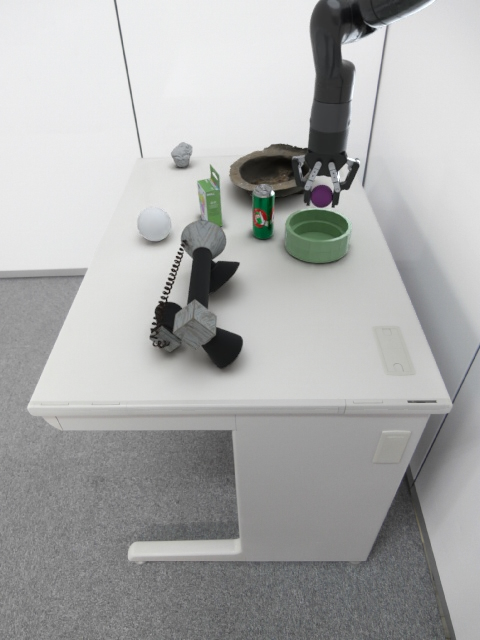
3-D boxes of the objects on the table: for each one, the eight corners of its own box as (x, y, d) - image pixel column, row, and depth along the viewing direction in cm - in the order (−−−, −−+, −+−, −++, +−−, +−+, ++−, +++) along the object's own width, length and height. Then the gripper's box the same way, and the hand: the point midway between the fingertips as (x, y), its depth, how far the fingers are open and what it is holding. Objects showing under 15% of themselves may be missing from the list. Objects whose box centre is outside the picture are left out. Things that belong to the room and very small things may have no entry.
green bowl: (348, 232, 106) (352, 210, 102) (346, 268, 96) (351, 244, 92) (288, 227, 109) (289, 205, 105) (280, 261, 98) (281, 238, 94)
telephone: (196, 290, 100) (185, 393, 78) (153, 255, 94) (127, 357, 71) (245, 251, 93) (249, 352, 71) (203, 211, 87) (192, 307, 65)
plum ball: (332, 202, 97) (335, 181, 93) (331, 212, 93) (333, 191, 90) (310, 200, 97) (312, 179, 94) (308, 211, 94) (310, 190, 91)
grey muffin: (197, 167, 136) (195, 144, 131) (176, 172, 133) (174, 149, 129) (189, 160, 140) (186, 137, 135) (168, 165, 137) (165, 142, 133)
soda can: (267, 227, 109) (268, 181, 101) (277, 237, 106) (279, 190, 97) (248, 232, 107) (248, 186, 99) (258, 242, 104) (259, 195, 96)
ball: (179, 241, 105) (174, 211, 100) (148, 251, 102) (142, 221, 97) (165, 226, 110) (160, 197, 105) (135, 236, 107) (128, 206, 102)
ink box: (199, 216, 114) (195, 166, 105) (214, 213, 115) (211, 163, 105) (207, 229, 109) (203, 178, 100) (222, 226, 110) (220, 175, 101)
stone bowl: (332, 180, 126) (335, 149, 119) (293, 226, 112) (295, 194, 105) (257, 162, 136) (256, 132, 129) (212, 202, 121) (209, 171, 115)
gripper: (368, 118, 85) (354, 199, 97) (294, 115, 87) (289, 194, 99) (368, 132, 80) (354, 216, 91) (289, 128, 82) (285, 211, 94)
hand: (320, 204), depth 95 cm, fingers closed on plum ball, 4 cm apart
